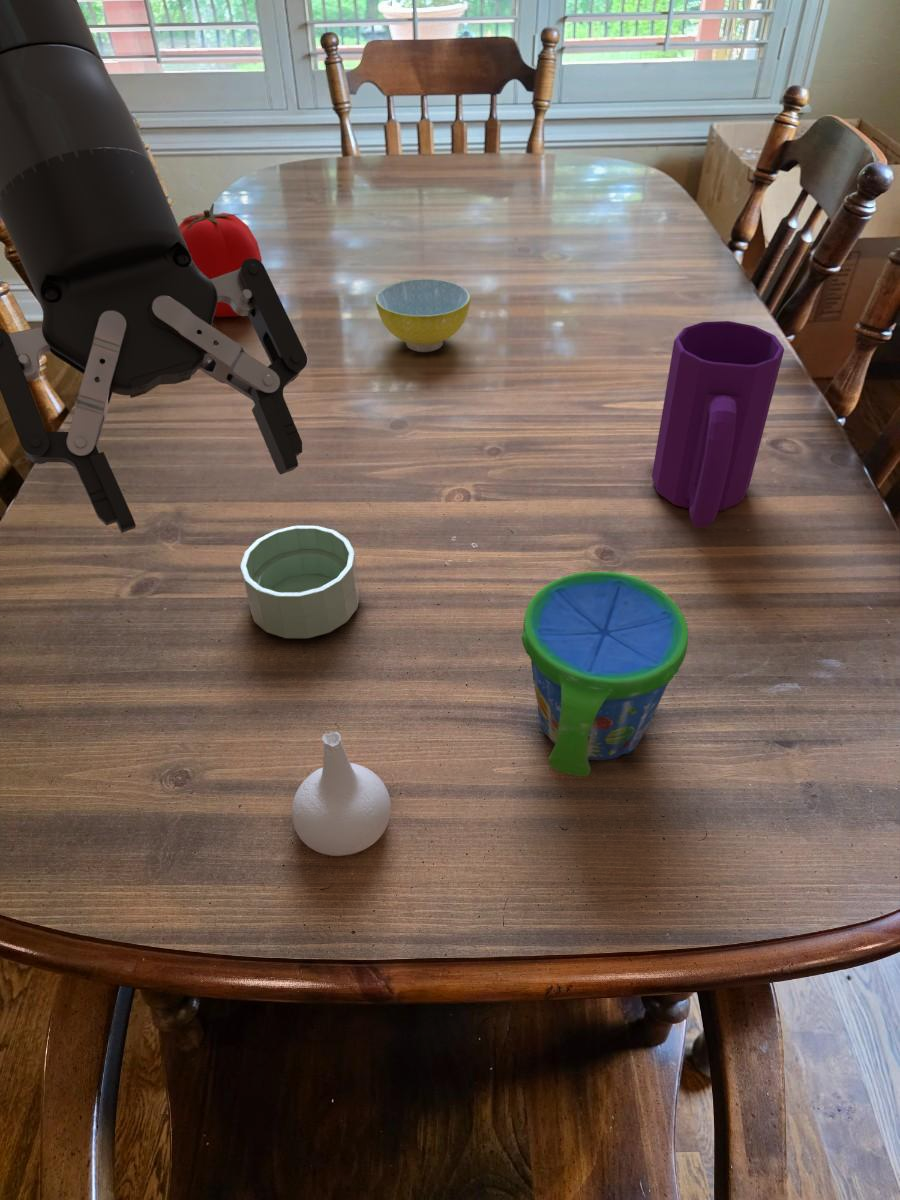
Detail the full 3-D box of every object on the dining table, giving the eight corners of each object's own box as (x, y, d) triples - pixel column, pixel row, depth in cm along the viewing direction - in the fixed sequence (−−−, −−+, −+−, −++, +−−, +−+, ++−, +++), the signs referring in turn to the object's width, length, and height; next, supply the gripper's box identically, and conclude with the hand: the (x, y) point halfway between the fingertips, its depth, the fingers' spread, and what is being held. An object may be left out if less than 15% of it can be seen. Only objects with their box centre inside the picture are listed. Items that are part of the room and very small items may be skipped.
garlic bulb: (301, 875, 54) (282, 799, 49) (290, 794, 59) (272, 716, 53) (400, 853, 55) (392, 777, 50) (382, 775, 60) (373, 697, 54)
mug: (746, 466, 87) (781, 323, 77) (751, 563, 76) (793, 410, 66) (653, 457, 89) (676, 315, 79) (644, 550, 77) (670, 399, 67)
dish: (293, 659, 68) (284, 612, 65) (230, 605, 73) (218, 559, 70) (381, 605, 73) (377, 559, 69) (316, 557, 77) (309, 511, 74)
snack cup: (627, 837, 56) (648, 735, 49) (479, 778, 59) (479, 675, 52) (692, 676, 66) (717, 574, 59) (562, 634, 70) (572, 533, 63)
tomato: (236, 338, 111) (215, 232, 102) (164, 319, 116) (139, 216, 107) (291, 305, 118) (277, 203, 110) (222, 288, 123) (203, 190, 114)
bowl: (437, 317, 115) (436, 270, 111) (487, 349, 107) (488, 300, 103) (362, 339, 110) (358, 291, 106) (409, 374, 103) (407, 324, 99)
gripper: (-102, 180, 36) (67, 545, 38) (224, 112, 41) (357, 438, 43) (-67, 252, 43) (73, 556, 45) (207, 186, 48) (322, 463, 50)
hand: (212, 498), depth 44 cm, fingers open, 8 cm apart
